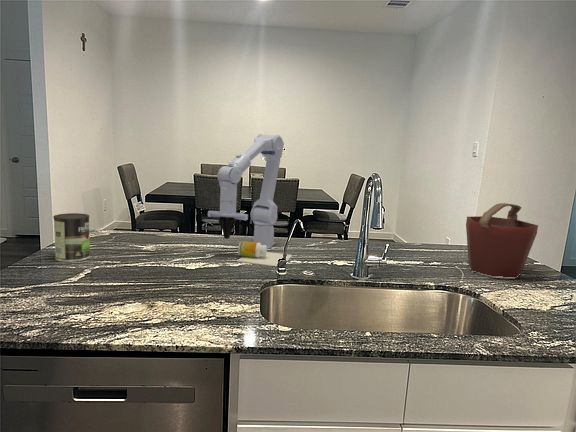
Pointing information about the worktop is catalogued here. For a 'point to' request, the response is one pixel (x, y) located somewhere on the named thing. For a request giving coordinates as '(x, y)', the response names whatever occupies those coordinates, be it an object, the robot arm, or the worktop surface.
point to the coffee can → (71, 237)
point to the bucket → (499, 242)
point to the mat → (264, 259)
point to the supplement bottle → (251, 249)
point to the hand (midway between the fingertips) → (226, 238)
